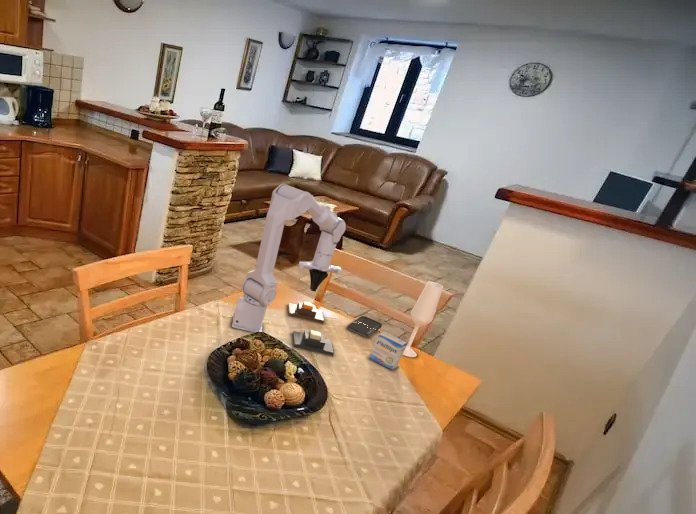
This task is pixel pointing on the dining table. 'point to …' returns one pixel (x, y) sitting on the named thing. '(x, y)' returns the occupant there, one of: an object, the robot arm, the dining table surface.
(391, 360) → the medicine box
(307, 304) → the key back
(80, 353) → the dining table surface
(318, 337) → the key
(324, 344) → the grey stepped holder
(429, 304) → the champagne flute
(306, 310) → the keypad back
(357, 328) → the phone
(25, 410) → the dining table surface
